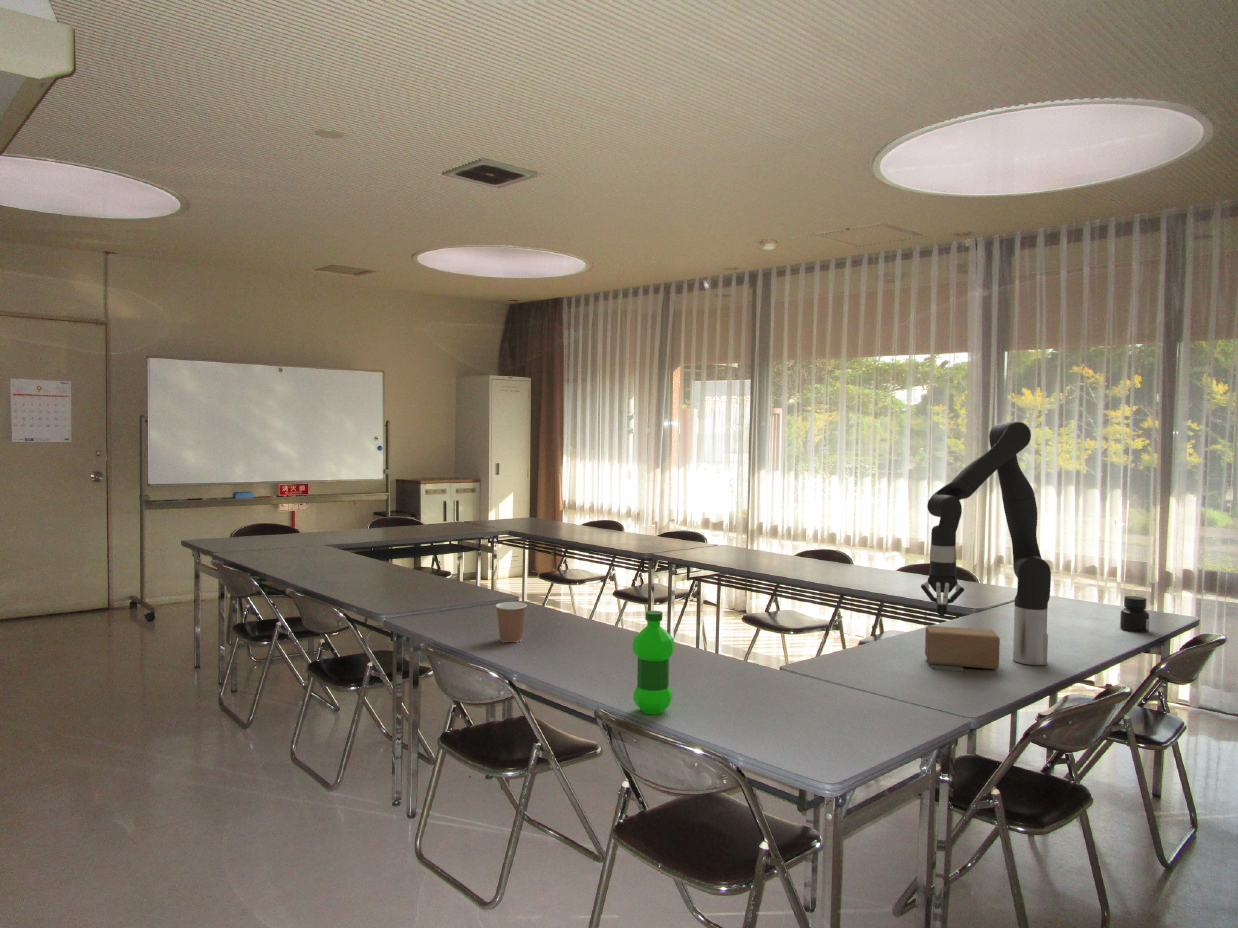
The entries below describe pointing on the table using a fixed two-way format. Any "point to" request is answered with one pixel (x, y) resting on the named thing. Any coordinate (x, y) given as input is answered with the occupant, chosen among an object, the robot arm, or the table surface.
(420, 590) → the table surface
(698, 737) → the table surface
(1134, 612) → the ink bottle
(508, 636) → the coffee cup
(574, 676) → the table surface
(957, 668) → the mat
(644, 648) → the plastic bottle
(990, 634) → the block
